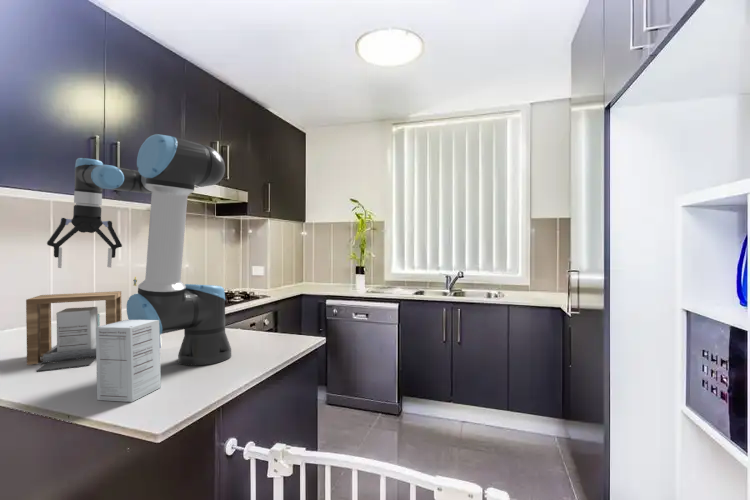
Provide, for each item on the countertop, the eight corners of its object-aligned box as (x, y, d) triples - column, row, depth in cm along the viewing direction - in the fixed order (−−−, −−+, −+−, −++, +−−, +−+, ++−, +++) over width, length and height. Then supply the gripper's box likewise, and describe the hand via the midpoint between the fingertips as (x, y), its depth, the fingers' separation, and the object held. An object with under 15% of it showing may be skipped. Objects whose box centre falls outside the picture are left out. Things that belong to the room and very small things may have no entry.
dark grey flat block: (89, 365, 111) (89, 364, 111) (36, 372, 106) (36, 370, 106) (95, 358, 118) (95, 357, 118) (46, 364, 113) (46, 362, 113)
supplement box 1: (66, 353, 125) (65, 308, 125) (99, 349, 129) (98, 306, 129) (55, 360, 117) (55, 312, 117) (91, 356, 120) (90, 310, 120)
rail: (104, 356, 120) (104, 355, 120) (38, 364, 113) (38, 362, 113) (119, 338, 145) (119, 337, 145) (66, 343, 138) (66, 341, 138)
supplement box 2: (162, 387, 93) (161, 319, 93) (132, 402, 84) (131, 327, 84) (128, 385, 95) (127, 318, 95) (95, 400, 86) (94, 326, 85)
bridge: (115, 355, 122) (114, 295, 122) (26, 365, 112) (26, 299, 112) (121, 346, 133) (121, 291, 133) (41, 354, 124) (41, 295, 123)
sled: (100, 356, 120) (99, 325, 119) (43, 362, 113) (42, 329, 113) (115, 338, 143) (114, 312, 143) (68, 343, 137) (68, 315, 137)
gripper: (128, 208, 139) (125, 265, 141) (38, 200, 122) (36, 265, 123) (133, 209, 134) (130, 268, 135) (39, 201, 117) (37, 269, 118)
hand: (85, 267), depth 129 cm, fingers open, 13 cm apart
